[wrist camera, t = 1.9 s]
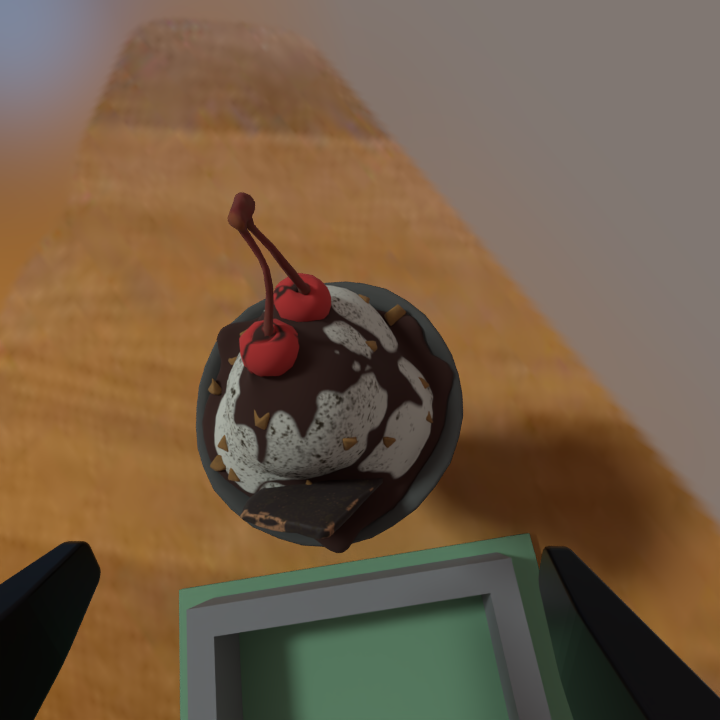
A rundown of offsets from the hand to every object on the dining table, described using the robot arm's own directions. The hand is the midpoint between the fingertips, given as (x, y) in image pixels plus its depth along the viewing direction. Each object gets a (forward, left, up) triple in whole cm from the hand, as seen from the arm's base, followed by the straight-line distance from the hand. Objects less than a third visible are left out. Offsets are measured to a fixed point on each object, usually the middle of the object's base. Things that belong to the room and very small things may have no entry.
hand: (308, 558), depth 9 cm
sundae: (+3, -1, -11) cm, 12 cm away
